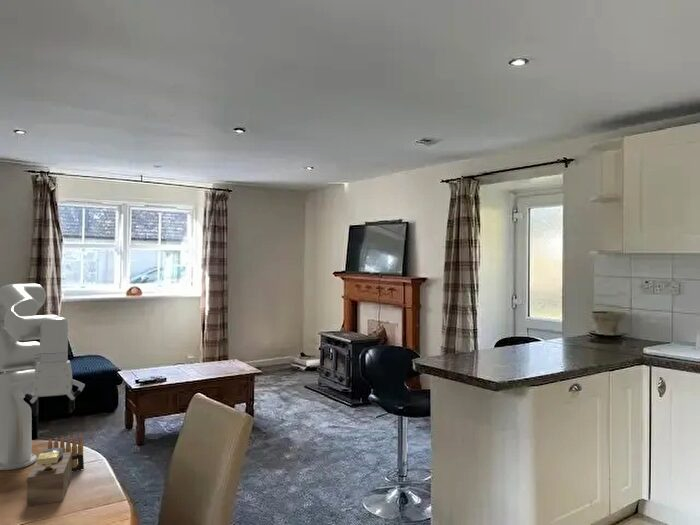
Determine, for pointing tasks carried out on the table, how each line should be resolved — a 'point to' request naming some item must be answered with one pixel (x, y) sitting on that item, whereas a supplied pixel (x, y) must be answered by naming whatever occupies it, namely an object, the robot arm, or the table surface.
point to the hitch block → (49, 481)
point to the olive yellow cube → (48, 459)
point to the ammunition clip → (74, 450)
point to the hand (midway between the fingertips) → (53, 413)
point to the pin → (56, 451)
